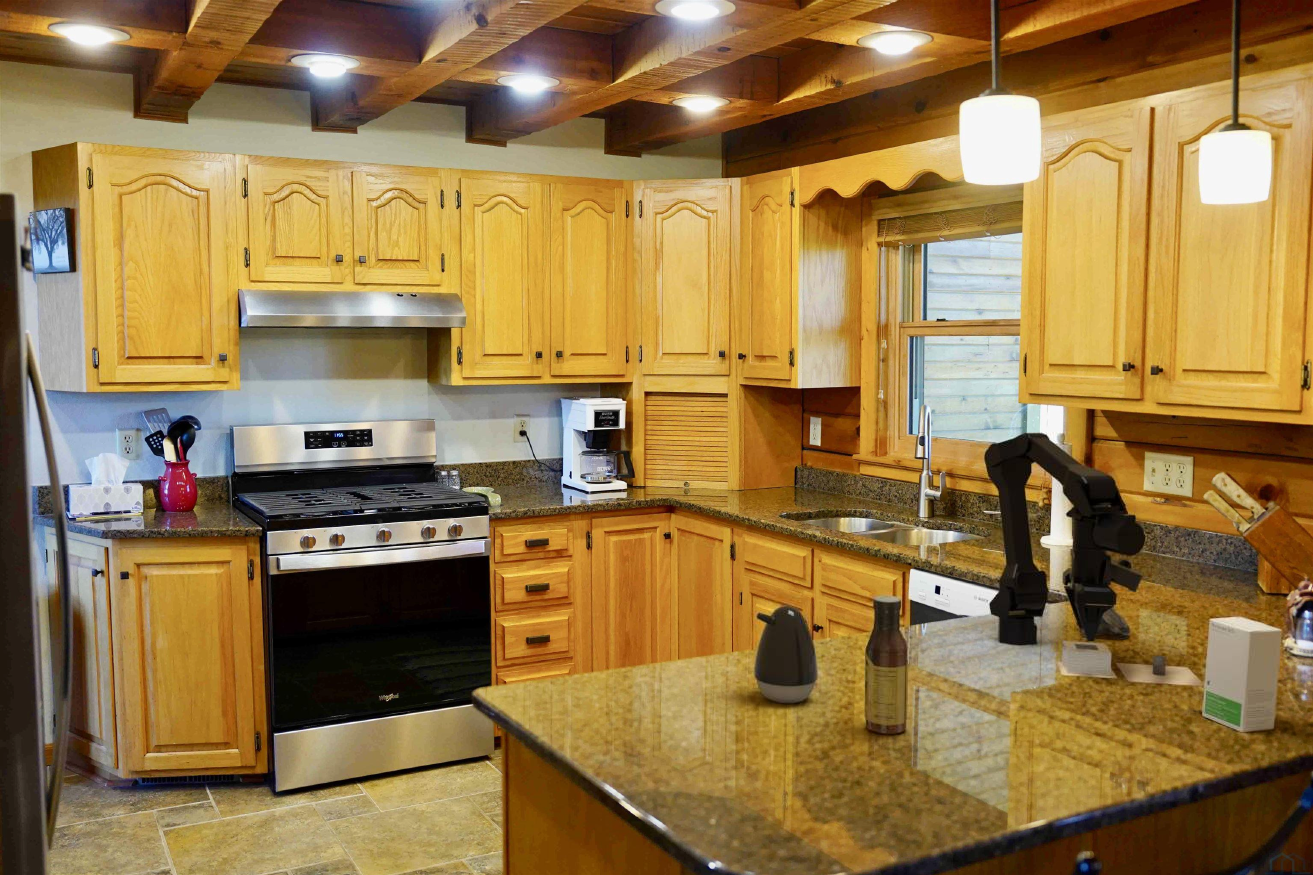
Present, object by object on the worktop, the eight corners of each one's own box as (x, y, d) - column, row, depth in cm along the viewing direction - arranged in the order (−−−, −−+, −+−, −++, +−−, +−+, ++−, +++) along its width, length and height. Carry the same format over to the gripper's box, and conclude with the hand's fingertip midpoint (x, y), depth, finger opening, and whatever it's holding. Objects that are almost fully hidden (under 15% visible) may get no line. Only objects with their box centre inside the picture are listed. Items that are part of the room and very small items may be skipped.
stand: (1061, 681, 199) (1062, 658, 199) (1054, 667, 208) (1055, 645, 208) (1117, 685, 198) (1118, 661, 197) (1107, 671, 206) (1108, 649, 206)
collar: (1067, 673, 200) (1068, 650, 200) (1061, 663, 207) (1062, 640, 207) (1110, 676, 199) (1111, 653, 198) (1103, 665, 205) (1104, 643, 205)
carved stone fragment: (1138, 640, 227) (1114, 595, 227) (1094, 659, 229) (1070, 614, 229) (1127, 626, 238) (1105, 582, 238) (1085, 644, 240) (1062, 601, 240)
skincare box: (1200, 717, 180) (1205, 618, 179) (1234, 713, 183) (1238, 615, 181) (1244, 733, 172) (1249, 630, 171) (1278, 729, 175) (1283, 627, 174)
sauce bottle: (877, 720, 177) (880, 591, 176) (914, 728, 173) (918, 597, 172) (855, 730, 172) (858, 597, 171) (893, 739, 168) (897, 604, 167)
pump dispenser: (742, 693, 190) (743, 601, 189) (798, 687, 194) (800, 597, 193) (769, 711, 181) (771, 614, 180) (828, 704, 184) (830, 610, 183)
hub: (1128, 688, 196) (1129, 663, 195) (1115, 669, 207) (1116, 646, 207) (1204, 693, 193) (1206, 668, 193) (1187, 673, 205) (1188, 650, 205)
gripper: (1151, 557, 191) (1146, 651, 192) (1128, 539, 209) (1125, 625, 210) (1079, 554, 193) (1075, 646, 194) (1063, 537, 211) (1060, 621, 212)
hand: (1086, 634), depth 202 cm, fingers open, 9 cm apart
